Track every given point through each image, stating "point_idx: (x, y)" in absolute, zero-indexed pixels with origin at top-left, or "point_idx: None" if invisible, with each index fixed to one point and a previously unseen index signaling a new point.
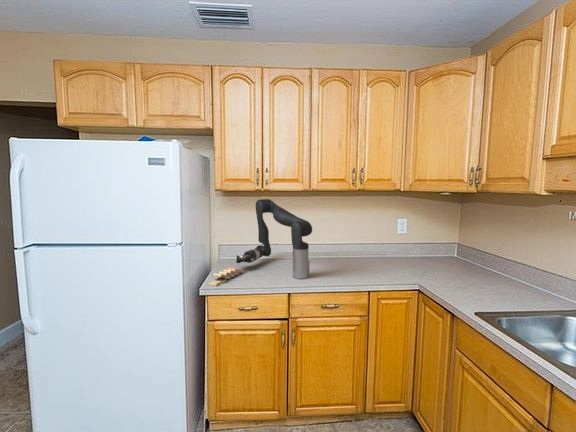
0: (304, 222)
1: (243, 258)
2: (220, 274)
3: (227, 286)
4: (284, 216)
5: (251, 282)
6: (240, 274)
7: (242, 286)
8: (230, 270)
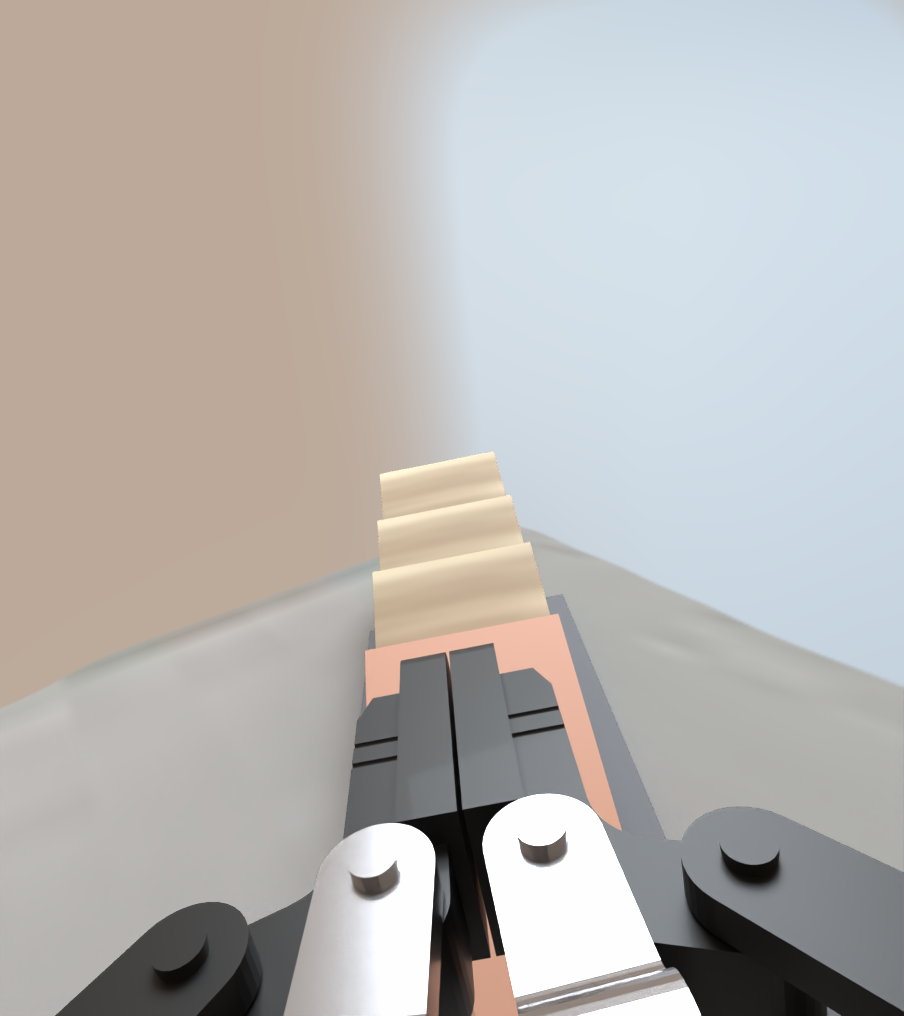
0: None
1: (321, 904)
2: (391, 475)
3: (321, 611)
4: None
5: (31, 821)
6: None
7: (143, 678)
8: (381, 572)
